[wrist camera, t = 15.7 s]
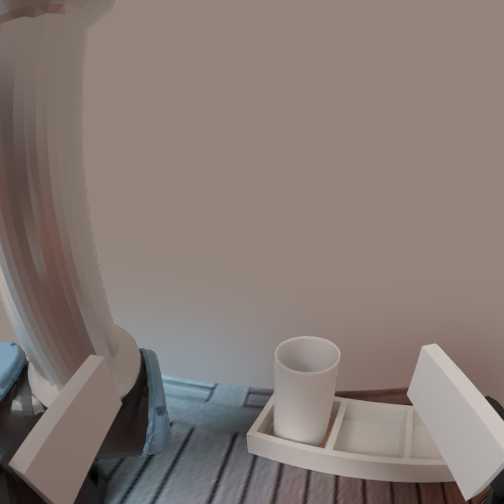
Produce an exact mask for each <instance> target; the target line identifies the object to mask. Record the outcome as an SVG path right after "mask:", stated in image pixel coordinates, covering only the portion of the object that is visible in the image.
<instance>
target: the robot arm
mask: <svg viewBox="0 0 504 504" xmlns="http://www.w3.org/2000/svg"><path fill="white" fill-rule="evenodd" d="M114 3H115V0H0V301H1V303H2V305H3V308H4V310H5V312H6V314H7V316H8V319H9V321H10V323H11V325H12V327H13V329H14V331H15V333H16V335H17V337H18V339H19V341H20V343H21V345H22V347H23V349H24V350H25V352H26V354H27V356H28V357H29V359H30V361H28V360H26V354H25V352H24V351H23V350H22V349H21V347H20V346H18V345H17V344H16V343H14V342H1V343H0V504H102V503H103V501H104V498H105V495H106V490H107V482H106V477H105V474H104V472H103V470H102V468H101V466H100V465H99V464H98V462H97V461H96V459H114V458H127V457H138V458H144V457H145V456H146V455H151V454H156V453H161V452H164V451H166V450H167V449H168V448H169V446H170V444H171V429H170V423H169V417H168V412H167V409H166V402H165V394H164V388H163V383H162V377H161V373H160V367H159V363H158V359H157V355H156V354H155V352H154V351H152V350H145V349H143V348H141V349H139V348H138V346H137V344H136V342H135V340H134V339H133V337H132V336H131V335H130V334H129V333H128V332H127V331H126V330H124V329H123V328H121V327H119V326H117V325H115V324H114V323H113V319H112V316H111V312H110V308H109V305H108V301H107V297H106V294H105V290H104V286H103V281H102V277H101V273H100V268H99V264H98V259H97V254H96V249H95V244H94V238H93V233H92V226H91V221H90V213H89V206H88V198H87V189H86V179H85V168H84V153H83V127H82V106H83V78H84V64H85V54H86V45H87V36H88V31H89V29H90V28H91V27H92V26H94V25H95V24H96V23H97V22H98V21H100V20H101V19H102V18H103V17H105V16H106V15H107V14H108V13H109V12H110V11H111V10H112V8H113V5H114ZM407 396H408V397H409V399H410V401H411V402H412V404H413V406H414V407H415V409H416V411H417V412H418V414H419V416H420V417H421V419H422V421H423V422H424V424H425V426H426V428H427V429H428V431H429V433H430V435H431V436H432V438H433V440H434V442H435V443H436V445H437V447H438V449H439V451H440V452H441V454H442V456H443V458H444V460H445V462H446V464H447V465H448V467H449V469H450V471H451V473H452V475H453V477H454V479H455V481H456V483H457V485H458V487H459V489H460V491H461V493H462V495H463V497H464V499H465V501H467V500H469V499H471V498H472V497H474V496H476V495H477V494H479V493H481V492H482V491H483V490H484V489H485V488H486V487H487V486H488V485H489V484H490V485H491V486H492V487H491V488H490V489H489V490H488V491H487V492H486V493H485V494H484V495H483V496H482V497H481V498H480V499H479V501H478V503H477V504H480V503H481V502H482V501H483V500H484V499H486V498H487V499H486V500H485V502H484V503H483V504H504V409H503V407H502V406H501V405H500V404H499V403H498V402H497V401H496V400H494V399H493V398H491V397H489V396H486V397H483V395H482V394H481V393H480V392H479V391H478V390H477V388H476V387H475V386H474V385H473V384H472V383H471V381H470V380H469V379H468V378H467V377H466V376H465V375H464V374H463V372H462V371H461V370H460V369H459V368H458V367H457V366H456V365H455V363H454V362H453V361H452V360H451V359H450V358H449V357H448V356H447V355H446V354H445V353H444V352H443V350H442V349H441V348H440V347H439V346H438V345H437V344H431V345H426V346H423V347H422V349H421V352H420V356H419V359H418V362H417V365H416V369H415V372H414V375H413V378H412V381H411V384H410V387H409V389H408V392H407Z"/></svg>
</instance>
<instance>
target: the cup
mask: <svg viewBox="0 0 504 504" xmlns="http://www.w3.org/2000/svg"><path fill="white" fill-rule="evenodd" d="M274 363H275V364H274V431H273V433H274V437H277V438H281V439H285V440H289V441H293V442H297V443H301V444H305V445H310V446H315V447H318V446H319V445H320V444H321V443H322V442H323V441H324V439H325V437H326V433H327V428H328V424H329V419H330V414H331V410H332V405H333V399H334V394H335V388H336V383H337V377H338V371H339V365H340V350H339V349H338V347H337V346H336V345H335V344H334V343H332V342H330V341H328V340H326V339H323V338H319V337H312V336H302V337H295V338H291V339H289V340H286V341H284V342H282V343H281V344H280V345H279V346H278V347H277V348H276V350H275V362H274Z"/></svg>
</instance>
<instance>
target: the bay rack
mask: <svg viewBox="0 0 504 504" xmlns="http://www.w3.org/2000/svg"><path fill="white" fill-rule="evenodd" d="M273 431H274V393H273V395H272V396H271V398H270V399H269V401H268V402H267V404H266V406H265V407H264V409H263V410H262V412H261V413H260V415H259V416H258V418H257V419H256V421H255V422H254V424H253V425H252V427H251V428H250V429H249V431H248V432H247V446H248V452H249V453H252V454H255V455H258V456H261V457H264V458H268V459H271V460H274V461H278V462H281V463H285V464H289V465H293V466H297V467H301V468H305V469H310V470H314V471H319V472H324V473H329V474H335V475H341V476H347V477H354V478H362V479H370V480H380V481H394V482H452V481H455V479H454V477H453V475H452V473H451V471H450V469H449V467H448V465H447V464H446V462H445V460H444V458H443V456H442V454H441V452H440V451H439V449H438V447H437V445H436V443H435V442H434V440H433V438H432V436H431V435H430V433H429V431H428V429H427V428H426V426H425V424H424V422H423V421H422V419H421V417H420V416H419V414H418V412H417V411H416V409H415V407H414V406H408V405H396V404H386V403H377V402H369V401H361V400H354V399H347V398H341V397H335V396H334V399H333V405H332V410H331V414H330V419H329V424H328V428H327V433H326V437H325V439H324V441H323V442H322V443H321V444H320V445H319V446H318V447H315V446H310V445H305V444H301V443H297V442H293V441H289V440H285V439H281V438H277V437H274V433H273Z"/></svg>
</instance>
